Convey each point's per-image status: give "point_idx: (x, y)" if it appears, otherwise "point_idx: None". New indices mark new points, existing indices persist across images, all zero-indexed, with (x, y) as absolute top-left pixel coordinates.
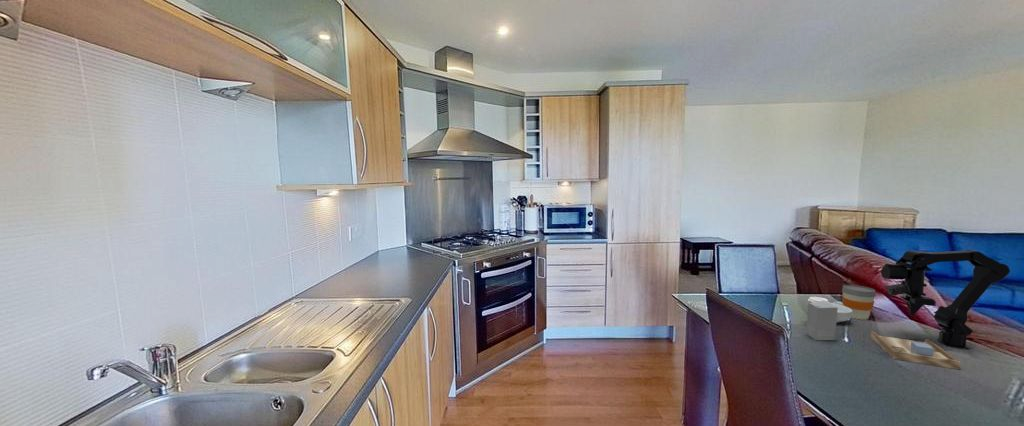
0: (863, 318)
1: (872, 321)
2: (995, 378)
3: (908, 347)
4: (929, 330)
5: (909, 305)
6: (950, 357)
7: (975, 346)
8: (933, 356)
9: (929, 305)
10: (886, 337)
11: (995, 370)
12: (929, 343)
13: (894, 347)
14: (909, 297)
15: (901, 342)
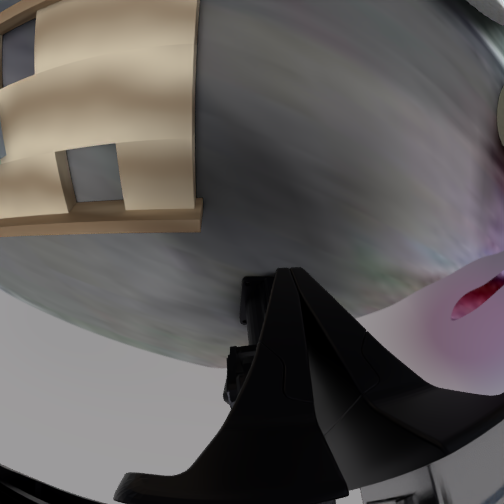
0: (500, 116)
1: (483, 138)
2: (6, 274)
3: (50, 101)
4: (406, 287)
5: (286, 376)
6: (2, 225)
7: None
8: (6, 175)
9: (2, 465)
10: (176, 23)
11: (66, 301)
12: (149, 214)
13: (38, 44)
14: (396, 494)
15: (116, 82)
